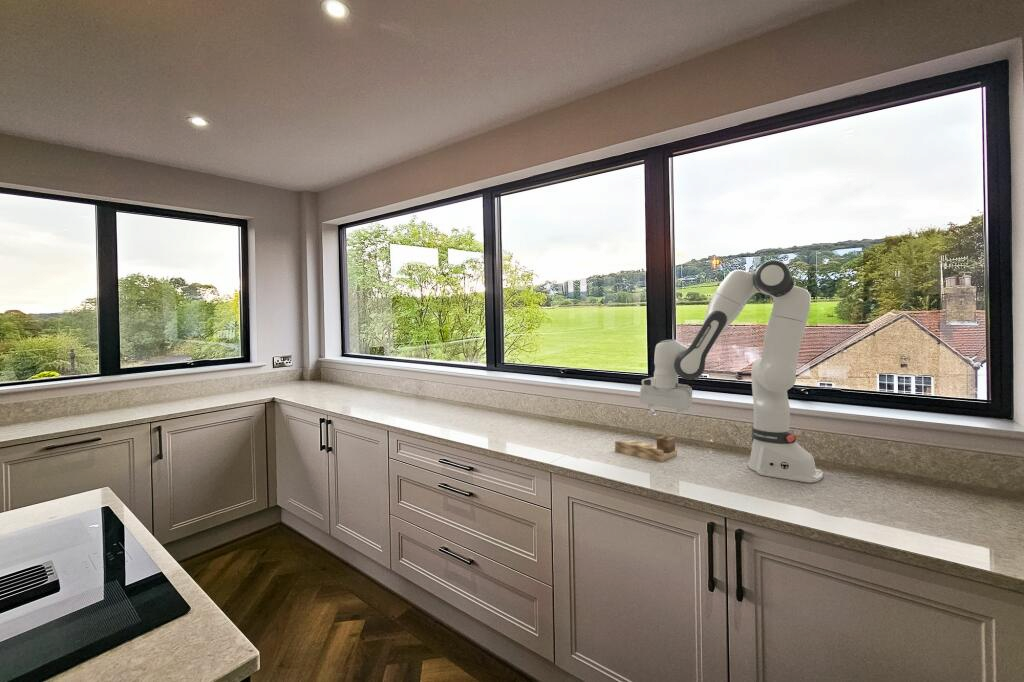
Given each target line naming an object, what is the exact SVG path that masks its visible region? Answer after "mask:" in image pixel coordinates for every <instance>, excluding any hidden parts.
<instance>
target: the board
mask: <svg viewBox="0 0 1024 682" xmlns="http://www.w3.org/2000/svg"><path fill="white" fill-rule="evenodd" d="M614 452H617V453H622V454H624V455H629V456H633V457H638V458H642V459H647V460H651V461H656V462H660V463H662V462H665V461H667V460H669V459H671V458H674V457H675V456H677V455H678V449H676V448H675V451H673V452H671V453H665V452H664V450H659V449H657V444H651V443H646V442H642V441H638V440H637V441H636V440H628V441H621V440H616V441H614Z"/></svg>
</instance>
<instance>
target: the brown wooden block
mask: <svg viewBox="0 0 1024 682" xmlns="http://www.w3.org/2000/svg"><path fill="white" fill-rule="evenodd" d="M656 445H657V449H659V450H664V452H665V453H671V452H673V451H675V449H676V437H673V436H668V435H661V436H658V437H656Z"/></svg>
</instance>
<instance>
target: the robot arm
mask: <svg viewBox="0 0 1024 682" xmlns="http://www.w3.org/2000/svg"><path fill="white" fill-rule="evenodd" d="M755 294H756V295H763V296H769V297H771V298H772V299H773V304H772V309H771V312H770V315H769V319H768V322H767V323H768V324H767V325H766V329H765V333H764V337H763V348H762V353H761V356H760V357H759V358H757V359H755V361H754V362H753V363H752V365H751V368H750V369H751V370H750V372H751V373H750V375H751V377H750V378H751V390H752V399H753V402H752V403H753V426H752V427H751V434H750V435H751V443H752V444H751V451H750V457H749V461H748V463H747V467H748V468H749V469H750V470H752V471H754V472H756V474H758V475H760V476H763V477H764V476H765V477H771V478H776V479H783V480H790V481H796V482H800V483H801V482H802V483H811V484H812V483H817V482H819V481H821V480H822V479H823V478H824V473H823V471H822V470H821V469H819V468H817V467H816V463H815V459H814V456H813V455H812V453H810V452H809V451H807V450H806V449H805V448H803V446H801V445H800V444H799V443H798V442H797V432H793V431H792V430H791V429H790V423H791V420H790V419H791V418H790V417H791V414H790V413H791V407H790V402H789V395H788V390H790V389H792V387H794V385H795V384H796V382H797V381H796V380H797V369H798V365H799V364H798V363H799V362H798V361H799V355H800V348H801V343H802V339H803V337H804V333H805V329H806V326H807V322H808V319H809V314H810V310H811V303H812V302H811V301H812V300H811V299H812V297H811V296H812V295H811V292H809V291H808V290H807V289H805V288H804V287H800V286H796V285H795V282H794V279H793V275H792V273H791V270H790V268H789V266H788V265H787V264H785V263H784V262H783V261H780V260H775V259H774V260H773V259H772V260H768V261H767V260H766V261H764V262H762V263H761V264H760V265H759V266H758V267H757V268H756V269H755V271H754V272H748V271H745V270H744V269H735V270H732V271H730V272H729V274H728V275H727V276H725V278H724V279H723V280H722V281H721V282H720V284H719V285H718V287H717V289H716V290H715V291H714V293H713V295H712V297H711V298H710V301H709V302H708V303H709V304H708V306H707V309H706V312H705V317H704V321H703V324H702V325H701V328H700V330H699V331H698V333H696V334H697V335H696V336H695V338H694V339H693V341H692V342H691V344H690V345H689V346H687V345H685V344H683V343H681V342H679V341H678V340H677V339H665V340H660V341H659V342H657V343H656V345H655V347H654V359H653V360H654V361H653V364H654V371H653V376H651V377H649V378H645V379H644V378H643V379H641V386H640V389H639V401H640V404H644V405H645V404H647V407H648V410H649V411H650V417H657V411H655V408H654V407H655V406H659V407H665V408H670V409H676V412H677V413H676V414H674V415H673V421H676V422H677V421H679V420H680V416H681V414H682V413H683V412H684V411H688V410H691V409H692V408H693V389H692V387H691V386H689V384H684V383H679V377H680V378H682V379H685V380H686V381H687V380H690V381H692V380H693V381H694V380H695V379H698V378H700V377H701V376H702V374H703V373H704V372H705V368H706V367H705V366H706V359H707V356H708V354H709V353H710V351H711V348H712V347H713V345H714V344H715V343H716V341H717V339H718V337H719V336H720V335H721V334H722V333H723V331H724V330H725V329H726V328H728V327H729V326H730V325H731V324H732V323H733V322H734V321H735V320H736V319H737V317H739V315H740V314H741V313H742V312H743V310H744V308H745V306H746V305H747V303H748V301H749V300H750V298H752V296H753V295H755Z"/></svg>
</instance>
